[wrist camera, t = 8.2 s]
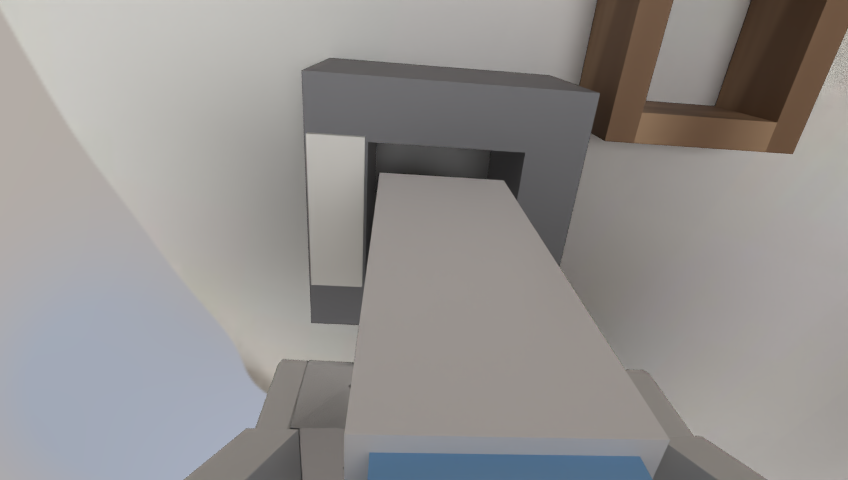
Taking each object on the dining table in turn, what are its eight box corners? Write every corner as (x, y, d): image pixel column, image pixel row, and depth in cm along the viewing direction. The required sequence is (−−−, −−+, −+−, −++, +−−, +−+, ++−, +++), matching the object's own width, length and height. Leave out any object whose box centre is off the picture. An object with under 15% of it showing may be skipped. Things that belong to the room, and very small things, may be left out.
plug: (503, 180, 15) (798, 640, 4) (486, 285, 16) (653, 805, 6) (379, 172, 14) (315, 649, 3) (375, 280, 16) (323, 822, 5)
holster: (800, -60, 19) (894, -80, 15) (729, 132, 22) (792, 153, 19) (614, -79, 18) (665, -104, 15) (571, 121, 22) (604, 140, 18)
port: (549, 75, 21) (602, 94, 15) (514, 265, 25) (545, 335, 19) (329, 58, 20) (300, 71, 14) (332, 256, 24) (310, 325, 19)
